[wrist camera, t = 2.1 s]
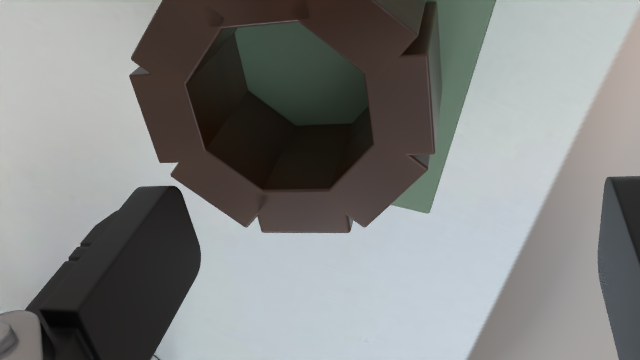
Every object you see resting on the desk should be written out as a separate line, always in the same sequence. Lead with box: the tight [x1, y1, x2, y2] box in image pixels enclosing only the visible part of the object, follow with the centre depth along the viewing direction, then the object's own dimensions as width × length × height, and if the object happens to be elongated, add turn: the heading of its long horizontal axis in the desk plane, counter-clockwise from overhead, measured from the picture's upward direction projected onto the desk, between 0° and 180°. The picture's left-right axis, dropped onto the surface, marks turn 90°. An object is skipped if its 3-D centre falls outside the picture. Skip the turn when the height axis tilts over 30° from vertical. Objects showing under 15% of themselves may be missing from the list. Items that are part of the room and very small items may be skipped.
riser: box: [234, 0, 496, 213], centre depth 22 cm, size 10×10×8 cm
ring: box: [129, 0, 442, 233], centre depth 18 cm, size 8×8×4 cm
